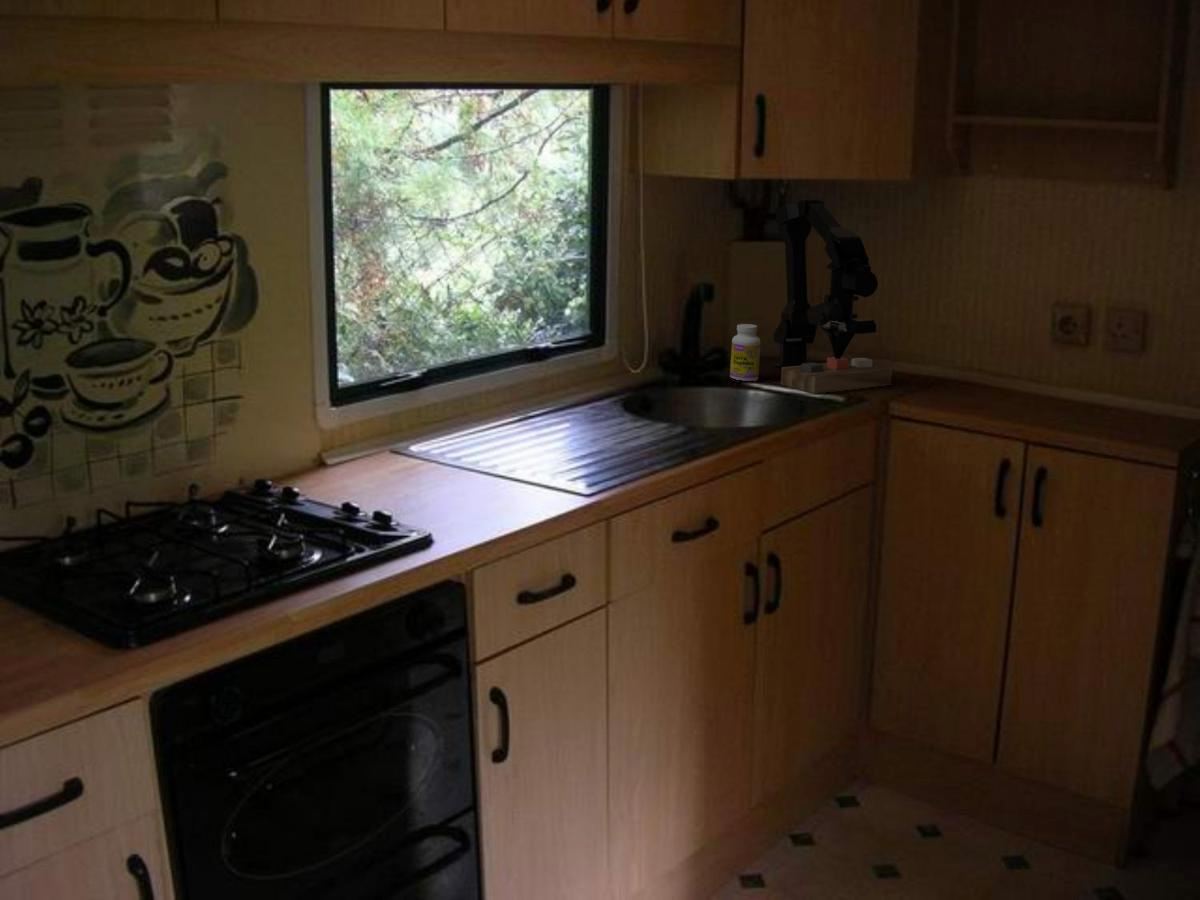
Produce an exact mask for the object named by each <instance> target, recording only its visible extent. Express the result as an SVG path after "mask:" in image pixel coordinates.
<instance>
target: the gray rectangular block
mask: <svg viewBox="0 0 1200 900" xmlns="http://www.w3.org/2000/svg"><path fill="white" fill-rule="evenodd" d="M801 370H802V371H805V372H809V373H815V372H823V365H821V363H817V362H806V363H802V368H801Z"/></svg>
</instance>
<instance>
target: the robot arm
mask: <svg viewBox="0 0 1200 900" xmlns="http://www.w3.org/2000/svg"><path fill="white" fill-rule="evenodd" d="M775 222H776V225H777V226H776V227H777V228H776V229H777V232H778V234H779V236H780V237H781V239H782V240H783V242H784V247H785V251H784V252H785V272H786V273H785V274H786V296H787V297H786V298H787V301H786V304H785V306H784V309H783V310H782V312H781V315H780V323H779V325H778V326H777V327H776V329H775V331H774V332H773V335H772V336H773V341H774V343H776V344H779V348H780V349H779V363H774V367H776V368H781V369H782V367H791V366H801V365H802V363H807V358H808V357H807V355H808V351H807V348H808V347H807V344H811V345H812V344H814V342H815V337H816V333H817V329H818V327H820V329H821V330H822V331H824V332H825V333H826V334H827V336H828V339H829V341H830V344H831V349H832V352H833V357H835V358H836V359H840V358H841V357H842V356H843V355H844V353H845V352H846V349H847V348H848V346H849V344H850V343H851V341H852V339H853V338H854V337H855V335H860V334H861V335H863V334H872V333H873V334H875V333H877V327H878V326H877V324H878V323H877V322H876V321H875V320H874V319H869V318H866V317H861V318H860V317H858V313H855V312H854V311H855V302H856V301H857V302H858V301H859V296H860V297H863V298H868V297H871V296H872V295H873V294H875V292H876V291H877V288H878V286H879V285H878V283H879V282H878V278H877V277H876V275H875V273H873V272H872V268H871V265H870V262H869V261H870V258H869V256H868V254H867V251H866V249H865V245H864V242H863V240H862V238H861V237H860V236H859V235H858V234H856V233H855V232H853V231H851V230H848V229H847V228H844V227H842V225H841V224H840V223H839V222H838V221H837V220H836V219H835V218H834V216H833V215H832V213H830V211H829V210H828V209H827V208H826V206H824V202H823V200H822V199H819V198H804V199H801V200H800V201H797V202H795V203H791V204H787V205H785V204H784V205H781V206H780V208H779V209H778V210H777V211H776V212H775ZM812 229H814V230H815V231H816V232H817V234H818V235H819V236H820V238H821V239H822V240H823V241H824V243H825V245H824V251H825V252H826V254H827V256H828V257H829V259H830V261H831V262H830V263H829V264H827V266H826V268H827V269H828V270H830V280H829V281H830V282H829V292H828V293H829V294H824V295H825V296H824V297H823V299H824V300H823V302H820V303H817V304H816V305H814V306H812V305H811V304H810V303H809V302H810V301H809V298H808V295H809V294H808V275H807V273H808V272H807V271H808V270H807V254H806V253H807V252H806V251H807V248H806V246H807V245H806V241H807V239H808V237H809V236H810V234H811V232H812ZM842 358H843V357H842Z"/></svg>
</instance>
